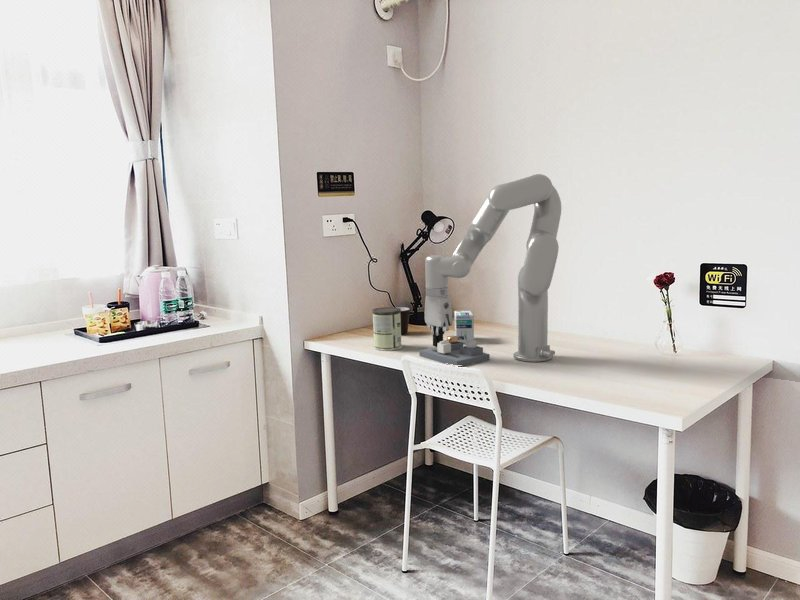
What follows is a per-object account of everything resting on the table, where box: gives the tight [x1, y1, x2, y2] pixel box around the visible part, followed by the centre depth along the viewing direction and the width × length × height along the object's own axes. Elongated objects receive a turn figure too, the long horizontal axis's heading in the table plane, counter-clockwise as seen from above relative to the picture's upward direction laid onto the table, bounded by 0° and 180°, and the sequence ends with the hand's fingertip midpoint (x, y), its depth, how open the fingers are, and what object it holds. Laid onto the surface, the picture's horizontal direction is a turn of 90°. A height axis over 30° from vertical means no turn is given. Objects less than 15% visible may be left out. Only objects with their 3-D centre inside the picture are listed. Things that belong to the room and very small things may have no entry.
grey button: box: [465, 339, 478, 349], centre depth 224 cm, size 4×4×3 cm
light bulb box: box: [453, 310, 475, 345], centre depth 252 cm, size 11×7×11 cm, turn 179°
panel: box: [418, 341, 490, 367], centre depth 226 cm, size 20×14×4 cm
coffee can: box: [371, 306, 403, 352], centre depth 244 cm, size 10×10×14 cm
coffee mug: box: [395, 306, 411, 336], centre depth 266 cm, size 12×9×10 cm
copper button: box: [446, 335, 457, 344], centre depth 232 cm, size 4×4×3 cm
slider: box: [437, 339, 451, 354], centre depth 224 cm, size 3×3×4 cm
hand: (438, 345), depth 227 cm, fingers closed
